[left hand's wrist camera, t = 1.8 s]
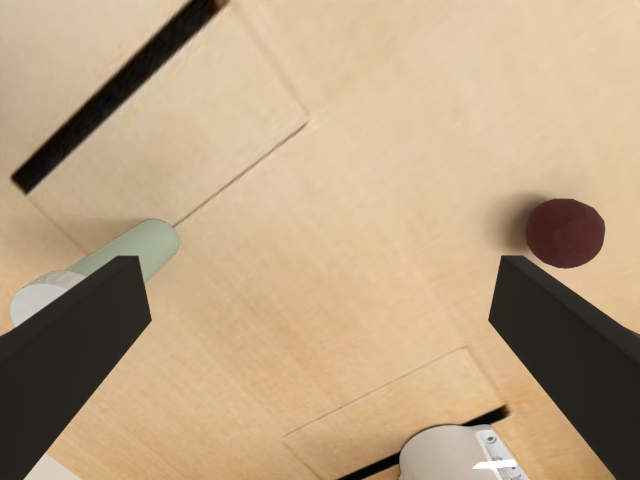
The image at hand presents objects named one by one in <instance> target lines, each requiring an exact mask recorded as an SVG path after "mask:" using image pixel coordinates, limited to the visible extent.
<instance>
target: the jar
mask: <svg viewBox="0 0 640 480" xmlns="http://www.w3.org/2000/svg"><path fill="white" fill-rule="evenodd" d="M178 248H179V238H178V235H177V233H176V231H175V230H174V229H173V228H172V227H171V226H170V225H169V224H168V223H166V222H164V221H161V220H157V219H149V220H146V221H143V222H142V223H140V224H138V225H137V226H135V227H133V228H132V229H130V230H129V231H127V232H125V233H124V234H122V235H121V236H119V237H117V238H116V239H114V240H112V241H111V242H109V243H108V244H106V245H104V246H103V247H101V248H100V249H98V250H96V251H95V252H93V253H91V254H90V255H88V256H87V257H85V258H83V259H82V260H80V261H78V262H77V263H75V264H74V265H72V266H70V267H69V268H67V269H66V270H64V271H71V272H74V273H78V274H81V275H83V276H85V277H88V276H89V275H90V274H92V273H93V272H95V271H96V270H98V269H99V268H100V267H102V266H103V265H105V264H106V263H107V262H109V261H110V260H112V259H113V258H114V257H116V256H139V260H140V265H141V270H142V275H143V280H144V284H145V283H146V282H147V281H148V280H149V279H150V278H151V277H152V276H153V275H154V274H155V273H156V272H157V271H158V270H159V269H160V268H161V267H162V266H163V265H165V264H166V263H167V262H168V261H169V260H170V259H171V258H172V257H173V256H174V255H175V254H176V252H177V250H178Z"/></svg>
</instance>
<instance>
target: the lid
mask: <svg viewBox="0 0 640 480" xmlns="http://www.w3.org/2000/svg"><path fill="white" fill-rule="evenodd" d="M85 278H86V277H85V276H83V275H81V274H78V273H74V272H71V271H56V272H53V271H52V272H50V273H48V274H46V275H45V274H44V275H42V276H40V277H39V278H37V279H35V280H34V281H32V282H30V283H28V285H26V286H24V287H23V288H22V289H21V290H19V291H18V292H17V293H16V294H15V296H14V297H13V299H12V302H11V305H10V315H11V319H12V322H13V324H14V326H15V328H16V327H17V326H18V325H20V324H21V323H23V322H24V321H25V320H27V319H28V318H30V317H31V316H32V315H34V314H35V313H37V312H38V311H40V310H41V309H42V308H44V307H45V306H47V305H48V304H49V303H51V302H52V301H54V300H55V299H57V298H58V297H59V296H61V295H62V294H64V293H65V292H66V291H68V290H69V289H71V288H72V287H73V286H75V285H76V284H78V283H79V282H81V281H82V280H83V279H85Z"/></svg>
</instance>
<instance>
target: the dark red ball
mask: <svg viewBox="0 0 640 480" xmlns="http://www.w3.org/2000/svg"><path fill="white" fill-rule="evenodd" d="M604 234H605V224H604V220H603V219H602V218H601V216H600V215H599V214H598V213H597V211H596V210H595V209H594V208H593V207H590V206H588V205H586V204H584V203H581V202H579V201H576V200H574V199H553V200H550V201H547V202H544V203H542V204H541V205H540V206H538V207H537V208H536V209H535V210H534V211H533V213H532V214H531V216H530V217H529V221H528V224H527V228H526V241H527V244H528V246H529V248H530V249H531V251H532V252H533V254H534V255H535V256H537V257H538V258H539V259H540V260H541V261H542V262H544V263H546V264H549V265H551V266H554V267H557V268H574V267H578V266H581V265H583V264H585V263H587V262H589V261H590V260H592V259H593V258H594V257H595V256H596V255H597V254H598V253H599V251H600V250H601V247H602V245H603V241H604Z"/></svg>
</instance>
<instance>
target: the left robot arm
mask: <svg viewBox="0 0 640 480" xmlns="http://www.w3.org/2000/svg"><path fill="white" fill-rule="evenodd" d="M151 321H152V319H151V314H150V309H149V304H148V300H147V295H146V290H145V285H144V280H143V275H142V270H141V265H140V260H139V256H116V257H114V258H113V259H112V260H110V261H109V262H107V263H106V264H105V265H103V266H102V267H100V268H99V269H98V270H96V271H95V272H93V273H92V274H90V275H89V276H88V277H86V278H85V279H83V280H82V281H81V282H79V283H78V284H76V285H75V286H73V287H72V288H71V289H69V290H68V291H66V292H65V293H64V294H62V295H61V296H59V297H58V298H57V299H55V300H54V301H52V302H51V303H49V304H48V305H47V306H45V307H44V308H42V309H41V310H40V311H38V312H37V313H35V314H34V315H32V316H31V317H30V318H28V319H27V320H25V321H24V322H23V323H21V324H20V325H18V326H17V327H16V328H14V329H13V330H11V331H10V332H8V333H6V334H4V335H1V336H0V480H23V479H24V478H25V477H26V476H27V474H28V473H29V472H30V471H31V470H32V468H33V467H34V466H35V465H36V463H37V462H38V461H39V460H40V458H41V457H42V456H43V455H44V453H45V452H46V451H47V450H48V448H49V447H50V446H51V445H52V444H53V442H54V441H55V440H56V439H57V437H58V436H59V435H60V434H61V432H62V431H63V430H64V429H65V427H66V426H67V425H68V424H69V422H70V421H71V420H72V419H73V417H74V416H75V415H76V414H77V413H78V411H79V410H80V409H81V408H82V406H83V405H84V404H85V403H86V401H87V400H88V399H89V398H90V396H91V395H92V394H93V393H94V391H95V390H96V389H97V388H98V387H99V385H100V384H101V383H102V382H103V380H104V379H105V378H106V377H107V375H108V374H109V373H110V372H111V370H112V369H113V368H114V367H115V365H116V364H117V363H118V362H119V361H120V359H121V358H122V357H123V356H124V354H125V353H126V352H127V351H128V349H129V348H130V347H131V346H132V344H133V343H134V342H135V341H136V339H137V338H138V337H139V336H140V334H141V333H142V332H143V331H144V330H145V328H146V327H147V326H148V325H149V323H150V322H151ZM488 321H489V322H490V323H491V325H492V326H493V327H494V328H495V330H496V331H497V332H498V333H499V335H500V336H501V337H502V338H503V339H504V341H505V342H506V343H507V344H508V346H509V347H510V348H511V349H512V351H513V352H514V353H515V354H516V356H517V357H518V358H519V359H520V361H521V362H522V363H523V364H524V365H525V367H526V368H527V369H528V370H529V372H530V373H531V374H532V375H533V377H534V378H535V379H536V380H537V382H538V383H539V384H540V385H541V387H542V388H543V389H544V390H545V391H546V393H547V394H548V395H549V396H550V398H551V399H552V400H553V401H554V403H555V404H556V405H557V406H558V408H559V409H560V410H561V411H562V413H563V414H564V415H565V416H566V417H567V419H568V420H569V421H570V422H571V424H572V425H573V426H574V427H575V429H576V430H577V431H578V432H579V434H580V435H581V436H582V437H583V439H584V440H585V441H586V442H587V444H588V445H589V446H590V447H591V448H592V450H593V451H594V452H595V453H596V455H597V456H598V457H599V458H600V460H601V461H602V462H603V463H604V465H605V466H606V467H607V468H608V470H609V471H610V472H611V473H612V474H613V476H614V477H615V478H616V479H617V480H640V334H638V333H635V332H633V331H631V330H629V329H627V328H625V327H623V326H622V325H620V324H619V323H617V322H616V321H615V320H613V319H612V318H610V317H609V316H608V315H606V314H605V313H603V312H602V311H600V310H599V309H598V308H596V307H595V306H593V305H592V304H591V303H589V302H588V301H586V300H585V299H583V298H582V297H581V296H579V295H578V294H576V293H575V292H574V291H572V290H571V289H569V288H568V287H567V286H565V285H564V284H562V283H561V282H559V281H558V280H557V279H555V278H554V277H552V276H551V275H550V274H548V273H547V272H545V271H544V270H542V269H541V268H540V267H538V266H537V265H535V264H534V263H533V262H531V261H530V260H528V259H527V258H526V257H524V256H501V260H500V265H499V270H498V275H497V280H496V285H495V290H494V295H493V300H492V304H491V309H490V314H489V319H488Z"/></svg>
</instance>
